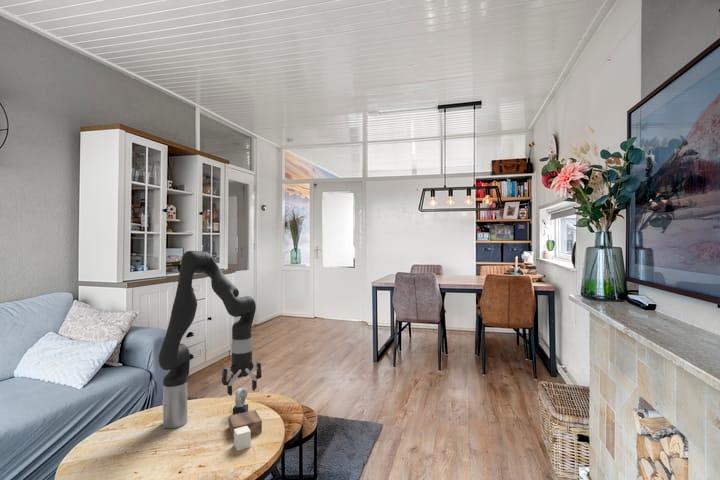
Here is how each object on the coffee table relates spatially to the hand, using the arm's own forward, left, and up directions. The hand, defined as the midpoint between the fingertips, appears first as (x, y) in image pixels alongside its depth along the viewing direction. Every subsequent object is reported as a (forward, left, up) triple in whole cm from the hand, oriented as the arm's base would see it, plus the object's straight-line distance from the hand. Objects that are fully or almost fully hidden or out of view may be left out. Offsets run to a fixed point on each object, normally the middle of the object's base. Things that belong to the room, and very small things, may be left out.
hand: (242, 392), depth 141 cm
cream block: (0, 0, -20) cm, 20 cm away
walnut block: (+4, +12, -20) cm, 24 cm away
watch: (+6, +28, -20) cm, 35 cm away
